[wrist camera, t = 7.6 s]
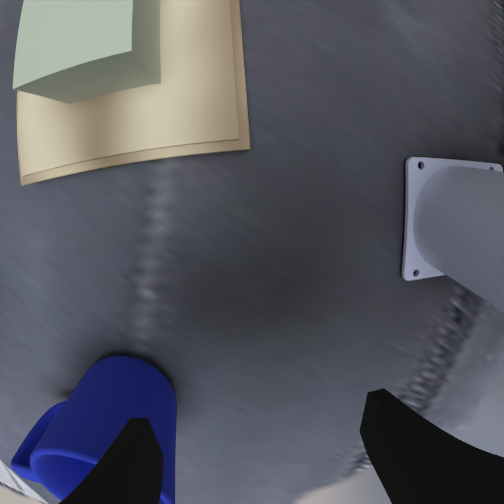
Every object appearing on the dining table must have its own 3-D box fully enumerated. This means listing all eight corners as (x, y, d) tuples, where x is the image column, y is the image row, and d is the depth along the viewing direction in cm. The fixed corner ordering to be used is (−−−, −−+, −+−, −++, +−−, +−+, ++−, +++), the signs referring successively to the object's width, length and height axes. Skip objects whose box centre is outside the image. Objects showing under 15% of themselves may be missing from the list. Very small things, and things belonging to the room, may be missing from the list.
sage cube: (160, -1, 11) (137, -52, 7) (161, 83, 13) (131, 50, 8) (72, 22, 11) (27, -13, 6) (68, 104, 13) (12, 89, 8)
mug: (31, 354, 19) (-31, 438, 10) (161, 330, 19) (123, 453, 10) (79, 427, 22) (46, 512, 12) (203, 416, 22) (198, 528, 12)
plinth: (233, -41, 13) (234, -62, 10) (247, 150, 16) (251, 148, 14) (43, 3, 12) (25, -9, 10) (38, 182, 16) (16, 186, 13)
